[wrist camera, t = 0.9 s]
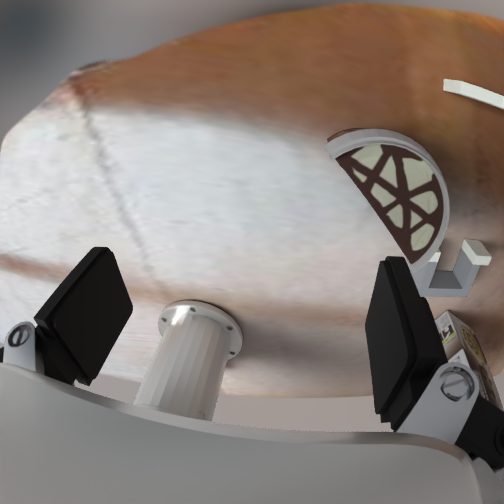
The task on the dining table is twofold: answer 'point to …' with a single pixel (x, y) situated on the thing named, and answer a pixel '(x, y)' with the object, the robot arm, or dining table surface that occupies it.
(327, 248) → the dining table surface
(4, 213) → the dining table surface
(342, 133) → the food container
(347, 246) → the dining table surface
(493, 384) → the coffee box
